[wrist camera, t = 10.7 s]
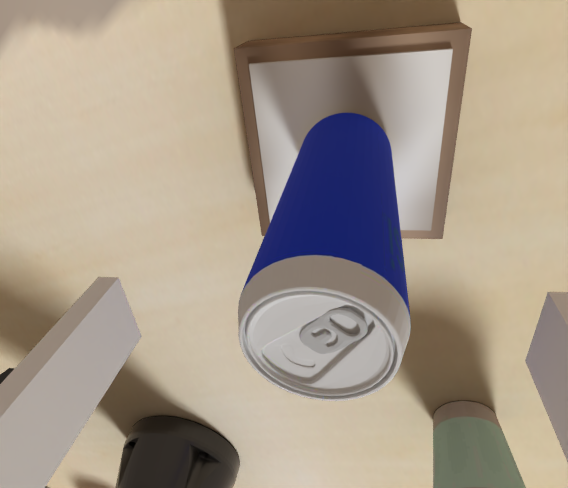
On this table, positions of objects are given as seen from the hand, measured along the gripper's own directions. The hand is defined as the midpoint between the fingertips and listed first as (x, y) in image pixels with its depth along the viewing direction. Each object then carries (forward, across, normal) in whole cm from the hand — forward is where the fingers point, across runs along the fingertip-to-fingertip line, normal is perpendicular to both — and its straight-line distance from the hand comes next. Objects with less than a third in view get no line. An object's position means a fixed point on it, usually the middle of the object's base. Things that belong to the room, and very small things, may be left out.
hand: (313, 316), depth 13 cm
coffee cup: (+17, +12, -28) cm, 35 cm away
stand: (+17, 0, +1) cm, 17 cm away
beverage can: (+14, 0, 0) cm, 14 cm away
